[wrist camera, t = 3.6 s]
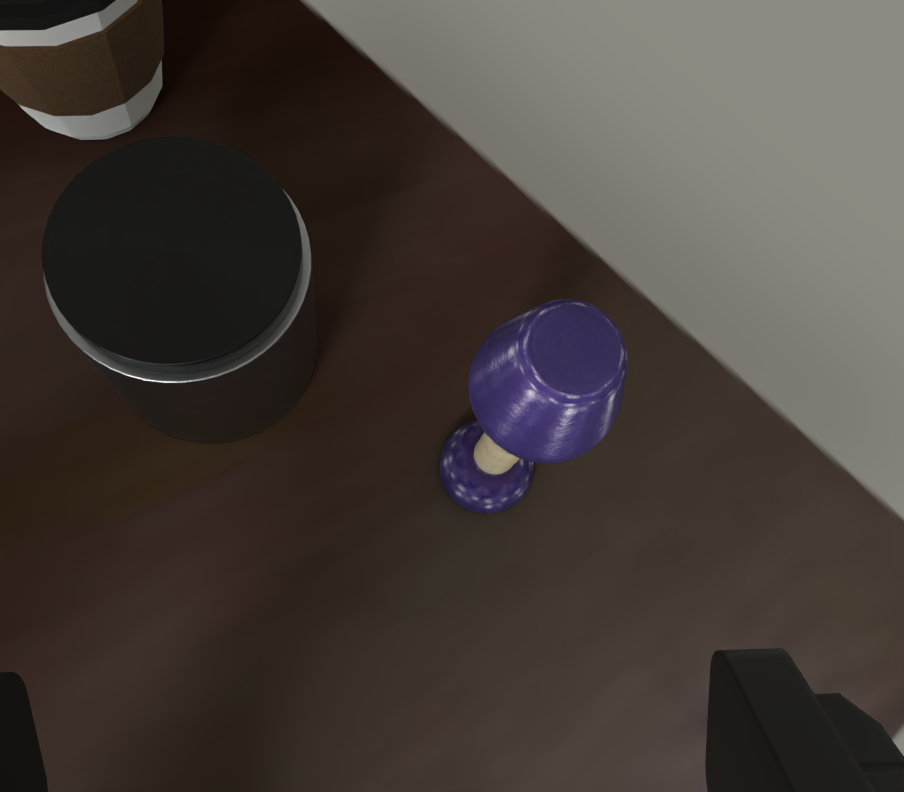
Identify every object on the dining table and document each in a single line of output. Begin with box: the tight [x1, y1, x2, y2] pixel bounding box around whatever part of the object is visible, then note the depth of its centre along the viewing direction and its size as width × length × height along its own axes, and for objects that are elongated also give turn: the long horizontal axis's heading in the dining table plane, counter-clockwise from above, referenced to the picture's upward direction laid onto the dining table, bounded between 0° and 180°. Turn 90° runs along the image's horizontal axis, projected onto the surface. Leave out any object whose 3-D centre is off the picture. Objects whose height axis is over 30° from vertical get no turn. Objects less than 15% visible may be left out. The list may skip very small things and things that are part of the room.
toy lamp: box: [439, 299, 627, 514], centre depth 30 cm, size 5×5×17 cm
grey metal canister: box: [42, 137, 317, 443], centre depth 33 cm, size 9×9×10 cm
